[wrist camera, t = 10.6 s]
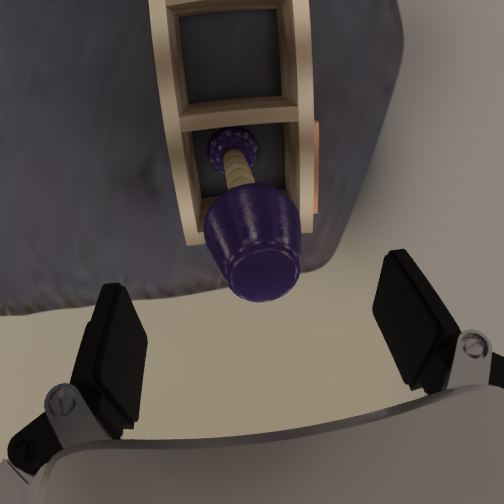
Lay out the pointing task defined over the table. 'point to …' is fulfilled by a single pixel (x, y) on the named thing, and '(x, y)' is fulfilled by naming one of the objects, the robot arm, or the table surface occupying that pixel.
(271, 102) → the rack
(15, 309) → the table surface
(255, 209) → the toy lamp
